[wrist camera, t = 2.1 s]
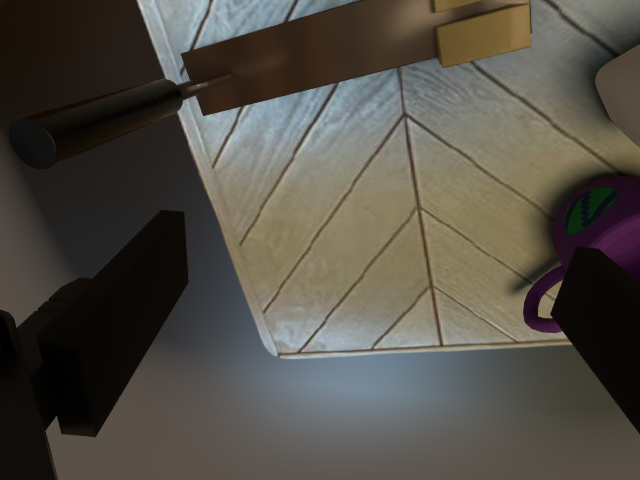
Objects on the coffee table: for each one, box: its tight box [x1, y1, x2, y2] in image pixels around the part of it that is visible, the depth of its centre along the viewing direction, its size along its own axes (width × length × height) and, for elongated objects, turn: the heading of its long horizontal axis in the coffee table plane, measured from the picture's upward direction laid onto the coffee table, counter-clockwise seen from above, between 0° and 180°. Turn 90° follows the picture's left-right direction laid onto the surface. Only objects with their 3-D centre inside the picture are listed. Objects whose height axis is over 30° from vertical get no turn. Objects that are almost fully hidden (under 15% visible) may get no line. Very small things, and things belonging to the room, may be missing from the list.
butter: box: [431, 0, 531, 68], centre depth 34 cm, size 6×7×4 cm
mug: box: [523, 176, 640, 333], centre depth 40 cm, size 17×11×10 cm, turn 144°
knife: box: [8, 74, 231, 169], centre depth 32 cm, size 4×3×23 cm, turn 105°
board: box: [181, 0, 532, 116], centre depth 39 cm, size 31×6×2 cm, turn 105°
